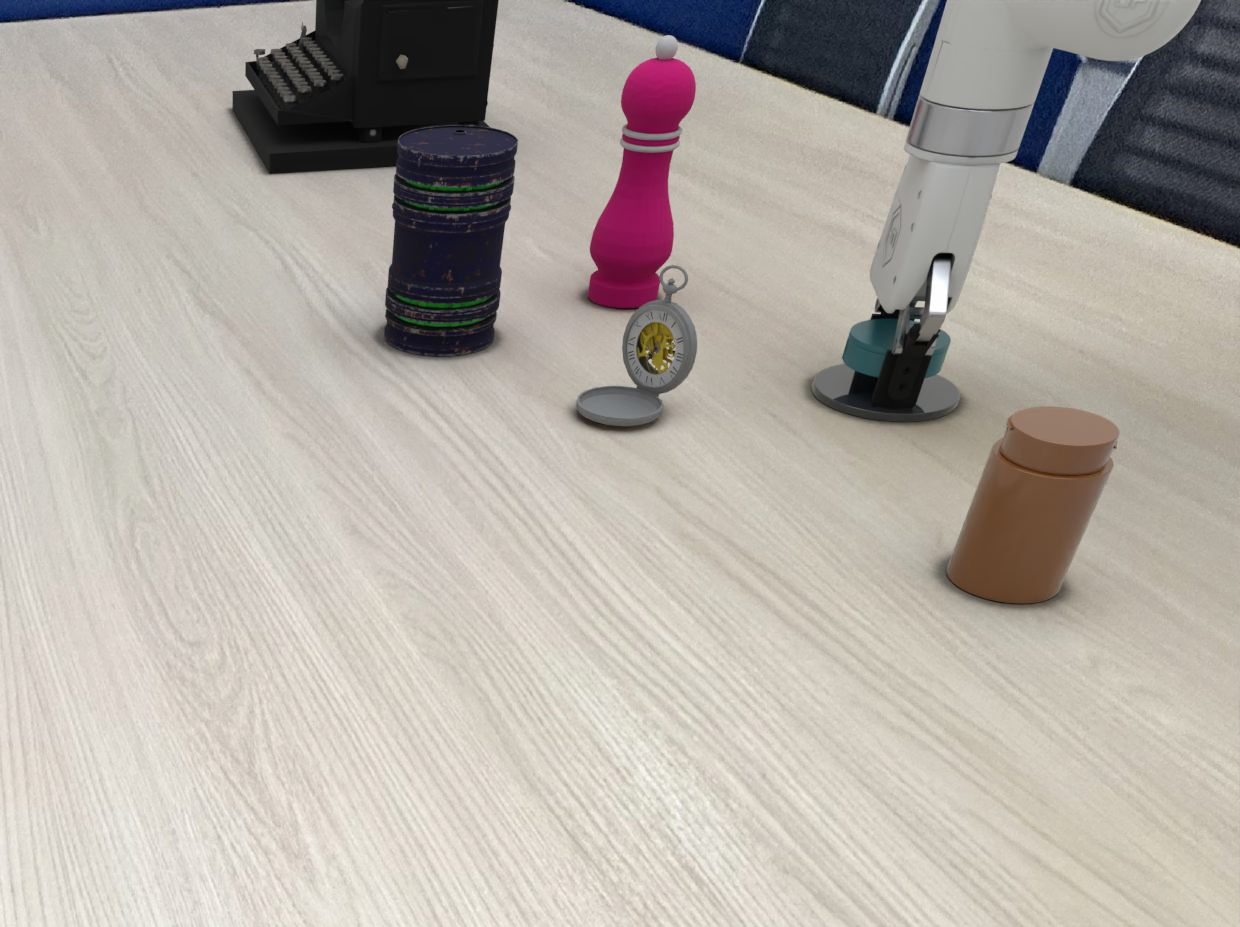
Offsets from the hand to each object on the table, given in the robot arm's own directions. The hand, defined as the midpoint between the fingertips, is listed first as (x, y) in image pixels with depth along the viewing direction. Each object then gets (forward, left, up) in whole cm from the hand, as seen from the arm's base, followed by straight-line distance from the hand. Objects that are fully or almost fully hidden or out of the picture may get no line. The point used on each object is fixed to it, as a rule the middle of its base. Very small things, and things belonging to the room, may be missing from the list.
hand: (885, 384), depth 115 cm
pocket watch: (+20, +6, -1) cm, 21 cm away
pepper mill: (+20, -21, -1) cm, 29 cm away
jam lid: (0, 0, +3) cm, 3 cm away
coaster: (0, 0, -1) cm, 1 cm away
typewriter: (+50, -78, -1) cm, 93 cm away
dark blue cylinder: (+36, -9, -1) cm, 37 cm away
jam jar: (-3, +31, -1) cm, 31 cm away
